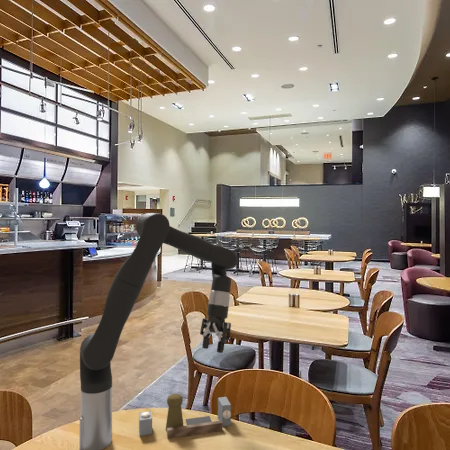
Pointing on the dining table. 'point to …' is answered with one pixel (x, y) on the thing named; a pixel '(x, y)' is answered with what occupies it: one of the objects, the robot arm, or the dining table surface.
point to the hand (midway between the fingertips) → (212, 350)
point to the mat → (198, 420)
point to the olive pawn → (174, 411)
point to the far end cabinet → (224, 411)
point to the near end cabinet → (145, 423)
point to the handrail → (194, 429)
